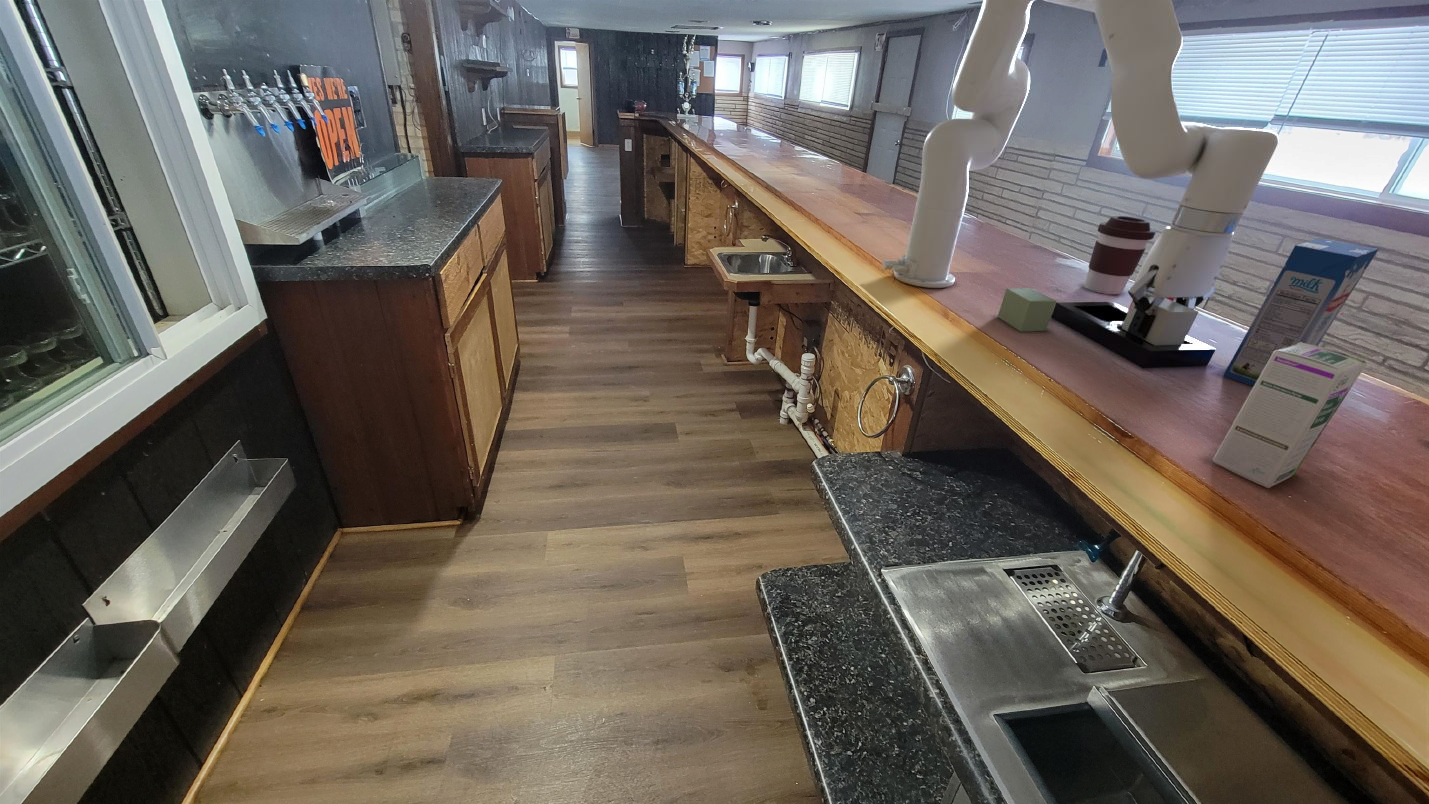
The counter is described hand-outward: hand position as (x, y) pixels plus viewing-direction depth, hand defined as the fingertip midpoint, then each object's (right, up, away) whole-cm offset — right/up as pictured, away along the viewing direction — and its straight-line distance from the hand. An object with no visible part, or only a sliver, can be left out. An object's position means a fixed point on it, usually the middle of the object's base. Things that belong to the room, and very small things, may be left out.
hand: (1151, 333), depth 92 cm
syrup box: (-10, -19, -27) cm, 35 cm away
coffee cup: (+13, +13, +31) cm, 36 cm away
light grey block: (0, 0, 0) cm, 0 cm away
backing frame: (-1, 0, +6) cm, 6 cm away
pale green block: (-16, +3, +10) cm, 19 cm away
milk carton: (+12, -8, -5) cm, 15 cm away
